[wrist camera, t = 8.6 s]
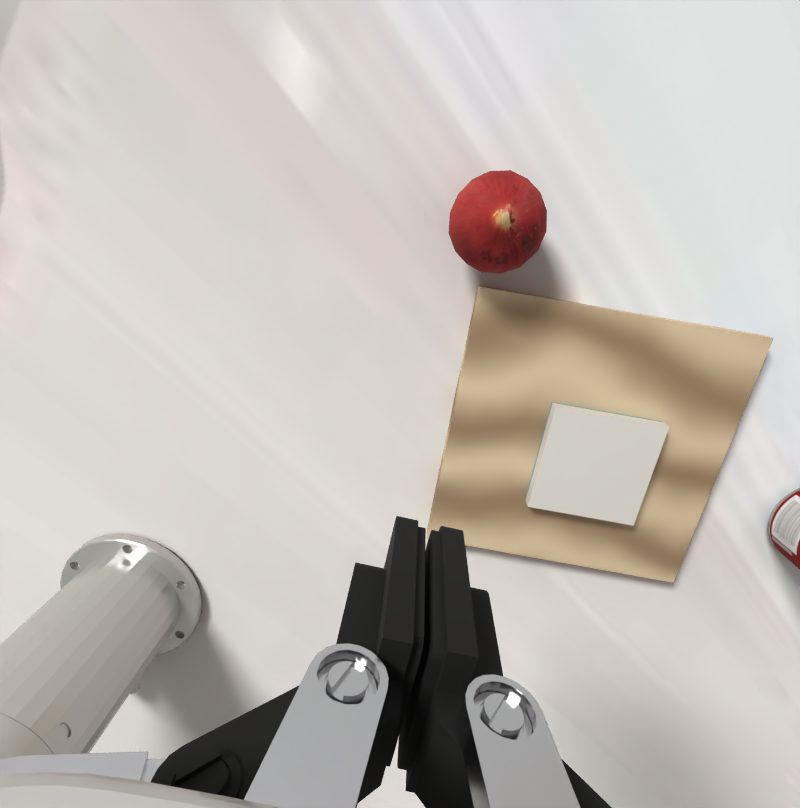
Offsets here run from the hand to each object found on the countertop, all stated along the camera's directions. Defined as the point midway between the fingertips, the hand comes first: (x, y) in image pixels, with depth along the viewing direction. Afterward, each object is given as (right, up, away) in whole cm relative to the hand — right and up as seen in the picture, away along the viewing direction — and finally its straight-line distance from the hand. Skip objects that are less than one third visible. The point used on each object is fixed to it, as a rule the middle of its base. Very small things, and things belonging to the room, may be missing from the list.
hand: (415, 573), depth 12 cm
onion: (+6, +16, +21) cm, 28 cm away
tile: (+10, 0, +24) cm, 26 cm away
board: (+13, +1, +25) cm, 29 cm away
